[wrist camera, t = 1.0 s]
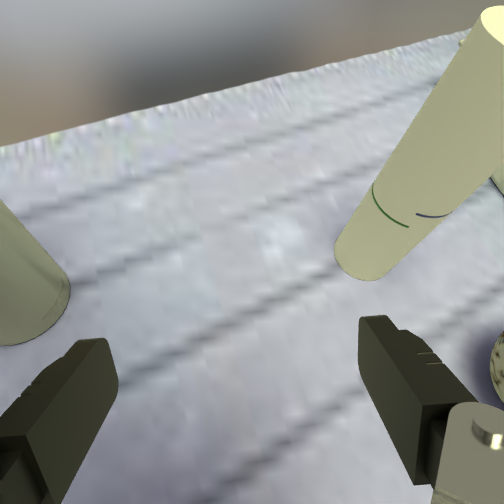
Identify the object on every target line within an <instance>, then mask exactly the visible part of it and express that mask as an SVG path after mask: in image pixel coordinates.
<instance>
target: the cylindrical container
mask: <svg viewBox="0 0 504 504" xmlns="http://www.w3.org/2000/svg"><path fill="white" fill-rule="evenodd" d="M503 164H504V6H494V7H490V8H487V9H486V10H484V11H483V12H482V14H481V16H480V17H479V19H478V20H477V22H476V23H475V25H474V26H473V28H472V30H471V31H470V33H469V34H468V36H467V37H466V39H465V41H464V42H463V44H462V45H461V47H460V48H459V50H458V51H457V53H456V55H455V56H454V58H453V59H452V61H451V62H450V64H449V65H448V67H447V69H446V70H445V72H444V73H443V75H442V76H441V78H440V80H439V81H438V83H437V84H436V86H435V87H434V89H433V90H432V92H431V94H430V95H429V97H428V98H427V100H426V101H425V103H424V105H423V106H422V108H421V109H420V111H419V112H418V114H417V115H416V117H415V119H414V120H413V122H412V123H411V125H410V126H409V128H408V129H407V131H406V133H405V134H404V136H403V137H402V139H401V140H400V142H399V144H398V145H397V147H396V148H395V150H394V151H393V153H392V154H391V156H390V158H389V159H388V161H387V162H386V164H385V165H384V167H383V168H382V170H381V172H380V173H379V175H378V176H377V178H376V180H375V181H374V182H373V184H372V186H371V187H370V189H369V190H368V192H367V193H366V195H365V197H364V198H363V200H362V201H361V203H360V204H359V206H358V208H357V209H356V211H355V212H354V214H353V215H352V217H351V219H350V220H349V222H348V223H347V225H346V226H345V228H344V230H343V231H342V233H341V234H340V236H339V237H338V239H337V241H336V242H335V245H334V255H335V258H336V260H337V262H338V264H339V265H340V267H341V268H342V269H343V270H344V271H345V272H346V273H348V274H349V275H351V276H352V277H354V278H357V279H360V280H364V281H373V280H377V279H380V278H381V277H383V276H384V275H385V274H386V273H387V272H388V271H390V270H391V269H392V268H393V267H394V266H395V265H396V264H397V263H398V262H399V261H400V260H401V259H402V258H404V257H405V256H406V255H407V254H408V253H409V252H410V251H411V250H412V249H413V248H414V247H415V246H416V245H417V244H419V243H420V242H421V241H422V240H423V239H424V238H425V237H426V236H427V235H428V234H429V233H430V232H431V231H432V230H434V229H435V228H436V227H437V226H438V225H439V224H440V223H441V222H442V221H443V220H444V219H445V218H446V217H447V216H448V215H450V214H451V213H452V212H453V211H454V210H455V209H456V208H457V207H458V206H459V205H460V204H461V203H462V202H463V201H465V200H466V199H467V198H468V197H469V196H470V195H471V194H472V193H473V192H474V191H475V190H476V189H477V188H479V187H480V186H481V185H482V184H483V183H484V182H485V181H486V180H487V179H488V178H489V177H490V176H491V175H492V174H494V173H495V172H496V171H497V170H498V169H499V168H500V167H501V166H502V165H503Z"/></svg>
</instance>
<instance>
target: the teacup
mask: <svg viewBox="0 0 504 504" xmlns="http://www.w3.org/2000/svg"><path fill="white" fill-rule="evenodd" d="M490 373H491V378H492V382H493V385H494V388H495V390H496V392H497V394H498V396H499V397H500V399H501V400H502V402H503V403H504V331H503V332H502V334H501V335H500V336H499V338H498V339H497V341H496V343H495V345H494V347H493V350H492V354H491V358H490Z"/></svg>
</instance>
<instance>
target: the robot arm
mask: <svg viewBox="0 0 504 504" xmlns="http://www.w3.org/2000/svg"><path fill="white" fill-rule="evenodd" d="M69 296H70V285H69V280H68V278H67V276H66V274H65V273H64V272H63V270H62V269H61V268H60V267H59V266H58V265H57V263H56V262H55V261H54V260H53V259H52V258H51V256H50V255H49V254H48V253H47V252H46V250H45V249H44V248H43V247H42V246H41V245H40V244H39V242H38V241H37V240H36V239H35V238H34V237H33V236H32V235H31V233H30V232H29V231H28V230H27V229H26V228H25V227H24V225H23V224H22V223H21V222H20V221H19V220H18V219H17V217H16V216H15V215H14V214H13V213H12V212H11V211H10V209H9V208H8V207H7V206H6V205H5V204H4V203H3V202H2V200H1V199H0V346H5V345H15V344H19V343H23V342H26V341H28V340H31V339H33V338H35V337H37V336H38V335H40V334H42V333H43V332H45V331H46V330H47V329H49V328H50V327H51V326H52V325H53V324H54V323H55V322H56V321H57V320H58V319H59V317H60V316H61V315H62V313H63V311H64V310H65V308H66V306H67V303H68V300H69ZM358 365H359V371H360V374H361V377H362V380H363V382H364V384H365V386H366V388H367V390H368V392H369V394H370V396H371V399H372V401H373V403H374V405H375V407H376V409H377V411H378V413H379V415H380V417H381V419H382V421H383V423H384V425H385V427H386V429H387V431H388V433H389V436H390V438H391V440H392V442H393V444H394V446H395V448H396V450H397V452H398V454H399V456H400V458H401V460H402V462H403V464H404V466H405V468H406V471H407V473H408V475H409V477H410V479H411V481H412V483H413V485H425V484H431V486H432V488H433V490H434V491H433V495H432V500H431V504H504V411H503V410H501V409H498V408H496V407H493V406H491V405H487V404H483V403H479V402H478V401H477V400H476V399H475V397H474V396H473V395H472V394H471V393H470V392H469V391H468V390H467V389H466V387H465V386H464V385H463V384H462V383H461V382H460V381H459V380H458V379H457V377H456V376H455V375H454V374H453V373H452V372H451V371H450V370H449V368H448V367H447V366H446V365H445V364H443V363H442V361H441V360H440V358H439V357H438V356H437V355H436V354H434V353H433V351H432V349H431V348H430V347H429V346H428V345H427V344H426V343H425V342H424V341H423V339H421V338H419V337H418V336H416V335H414V334H413V333H411V332H409V331H408V330H398V329H397V327H396V326H395V325H394V324H393V322H392V321H391V320H390V319H389V318H388V316H386V315H377V316H365V317H360V319H359V333H358ZM117 392H118V376H117V373H116V369H115V365H114V362H113V358H112V354H111V351H110V347H109V344H108V341H107V340H106V339H105V338H94V339H82V340H78V341H76V342H75V344H74V345H73V346H72V347H71V348H70V349H69V350H68V352H67V353H66V354H65V355H64V356H63V357H61V358H59V359H58V360H56V361H55V362H53V363H52V364H51V365H49V366H48V367H46V368H45V369H43V371H42V372H41V373H40V374H39V375H38V376H37V377H36V378H35V379H34V380H33V382H32V383H31V385H30V386H28V387H27V388H26V389H25V390H24V391H23V393H22V394H21V397H18V398H17V399H16V400H15V401H14V402H13V403H12V405H11V406H10V407H9V408H8V409H7V410H6V411H5V412H4V413H3V414H2V416H1V417H0V504H61V502H62V500H63V498H64V496H65V494H66V493H67V491H68V489H69V487H70V485H71V483H72V481H73V479H74V477H75V475H76V473H77V471H78V470H79V468H80V466H81V464H82V462H83V460H84V458H85V456H86V454H87V452H88V450H89V448H90V447H91V445H92V443H93V441H94V439H95V437H96V435H97V433H98V431H99V429H100V427H101V425H102V424H103V422H104V420H105V418H106V416H107V414H108V412H109V410H110V408H111V406H112V404H113V402H114V401H115V398H116V396H117Z"/></svg>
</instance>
